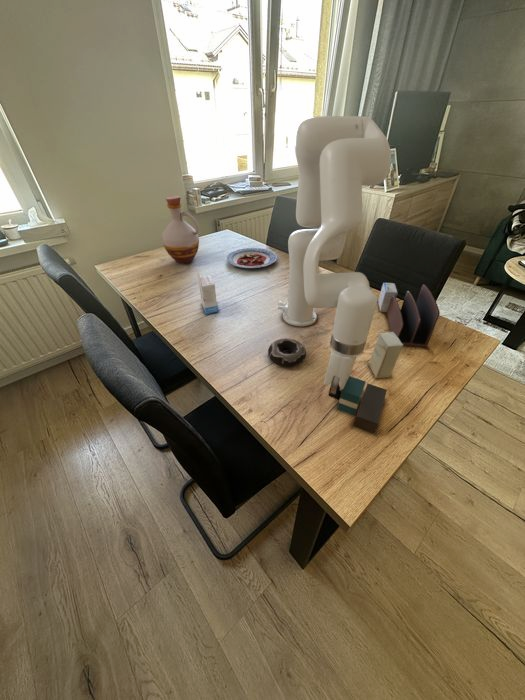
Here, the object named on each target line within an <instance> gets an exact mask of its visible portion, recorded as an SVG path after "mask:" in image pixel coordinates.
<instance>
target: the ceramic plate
mask: <svg viewBox="0 0 525 700" xmlns="http://www.w3.org/2000/svg"><path fill="white" fill-rule="evenodd" d="M277 259H278V255H277V254H276V253H275V252H273V251H271V250H269V249H265V248H260V247H245V248H239V249H237V250H236V249H235V250H234V251H231V252H230V253H228V255H227V256H226V261H227V262H228V264H230V265H232V266H234V267H237V268H242V269H257V268H264V267H268V266H270V265H272V264H274V263H275V262H276V261H277Z"/></svg>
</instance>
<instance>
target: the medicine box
mask: <svg viewBox="0 0 525 700" xmlns="http://www.w3.org/2000/svg"><path fill="white" fill-rule="evenodd" d="M392 296H395V298H396V299H397V297H398V289H397V286H396V283H393V282H383V283H382V285H381V289H380V293H379V296H378V299H377V305H378V308H379V312H381V313H387V309H388V307H389V304H390V301H391V298H392Z"/></svg>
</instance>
